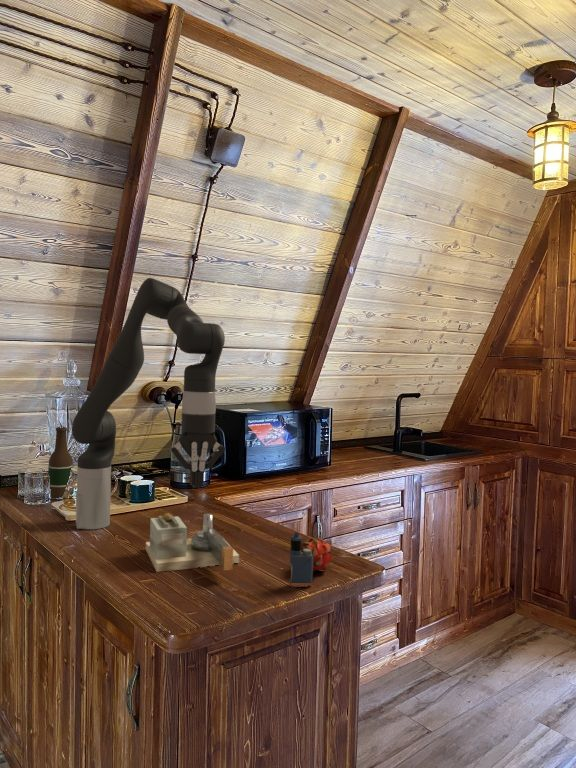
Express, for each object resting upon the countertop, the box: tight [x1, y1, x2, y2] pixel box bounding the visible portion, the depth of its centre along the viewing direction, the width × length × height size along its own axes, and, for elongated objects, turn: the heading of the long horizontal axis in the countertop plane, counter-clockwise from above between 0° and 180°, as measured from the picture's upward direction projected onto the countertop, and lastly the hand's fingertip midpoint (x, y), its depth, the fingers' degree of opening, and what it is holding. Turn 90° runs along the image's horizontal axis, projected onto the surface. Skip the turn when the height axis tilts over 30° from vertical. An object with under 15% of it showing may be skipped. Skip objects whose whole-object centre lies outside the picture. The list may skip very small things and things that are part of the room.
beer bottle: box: [47, 426, 74, 498], centre depth 199 cm, size 8×8×24 cm
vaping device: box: [289, 531, 314, 584], centre depth 132 cm, size 3×5×12 cm, turn 95°
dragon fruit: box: [301, 537, 333, 571], centre depth 142 cm, size 8×8×12 cm
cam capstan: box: [190, 513, 234, 571], centre depth 143 cm, size 22×8×8 cm, turn 23°
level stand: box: [145, 512, 240, 573], centre depth 148 cm, size 20×16×11 cm
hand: (196, 486), depth 134 cm, fingers closed
